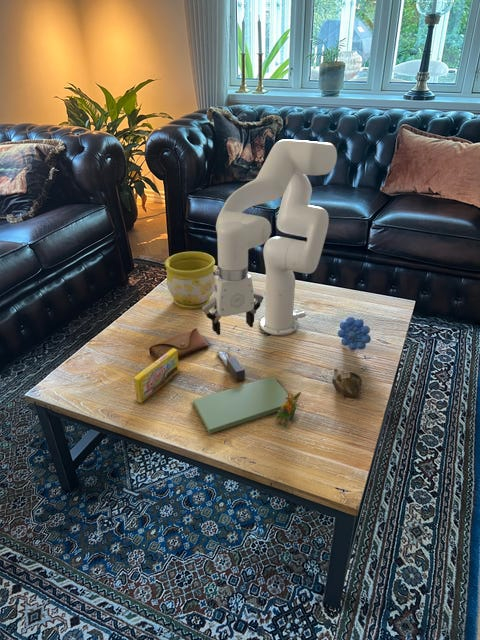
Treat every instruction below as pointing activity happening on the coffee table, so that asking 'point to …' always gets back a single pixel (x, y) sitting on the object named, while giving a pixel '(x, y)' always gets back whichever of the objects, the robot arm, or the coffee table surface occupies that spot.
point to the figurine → (287, 409)
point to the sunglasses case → (180, 345)
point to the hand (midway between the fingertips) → (233, 328)
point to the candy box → (156, 375)
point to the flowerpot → (190, 278)
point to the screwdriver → (233, 366)
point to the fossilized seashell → (347, 383)
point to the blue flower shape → (354, 333)
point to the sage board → (240, 404)
